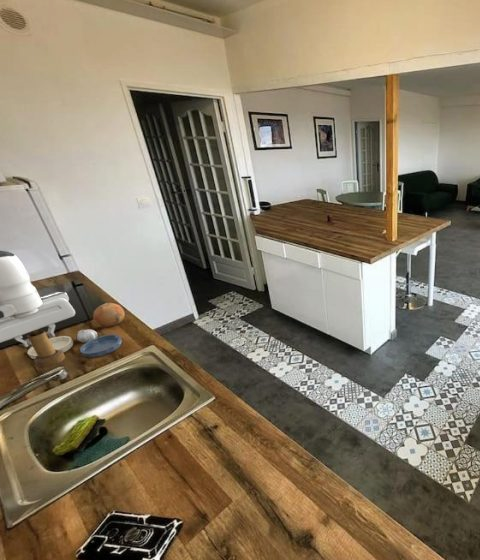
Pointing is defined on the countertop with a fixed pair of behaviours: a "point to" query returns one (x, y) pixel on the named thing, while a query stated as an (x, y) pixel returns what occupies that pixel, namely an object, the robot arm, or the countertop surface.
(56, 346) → the cream saucer
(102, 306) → the onion
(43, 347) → the mortar and pestle
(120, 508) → the countertop surface
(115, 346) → the slate saucer
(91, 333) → the garlic
